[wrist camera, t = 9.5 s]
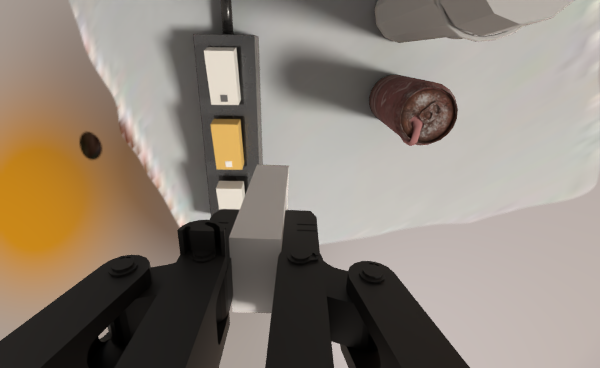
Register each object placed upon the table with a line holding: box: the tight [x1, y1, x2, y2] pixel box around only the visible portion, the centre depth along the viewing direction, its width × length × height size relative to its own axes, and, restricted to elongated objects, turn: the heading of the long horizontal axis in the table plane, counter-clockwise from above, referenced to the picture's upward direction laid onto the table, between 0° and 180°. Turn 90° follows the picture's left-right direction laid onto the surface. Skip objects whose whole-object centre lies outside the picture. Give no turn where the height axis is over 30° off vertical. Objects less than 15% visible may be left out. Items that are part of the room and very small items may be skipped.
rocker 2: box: [216, 181, 245, 210], centre depth 44 cm, size 6×3×2 cm, turn 179°
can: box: [369, 75, 458, 146], centre depth 38 cm, size 6×6×14 cm
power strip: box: [193, 0, 263, 217], centre depth 43 cm, size 31×7×4 cm, turn 179°
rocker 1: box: [204, 47, 241, 105], centre depth 38 cm, size 6×3×2 cm, turn 179°
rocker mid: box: [210, 119, 244, 170], centre depth 41 cm, size 6×3×2 cm, turn 179°
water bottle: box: [375, 0, 574, 43], centre depth 29 cm, size 9×8×25 cm
